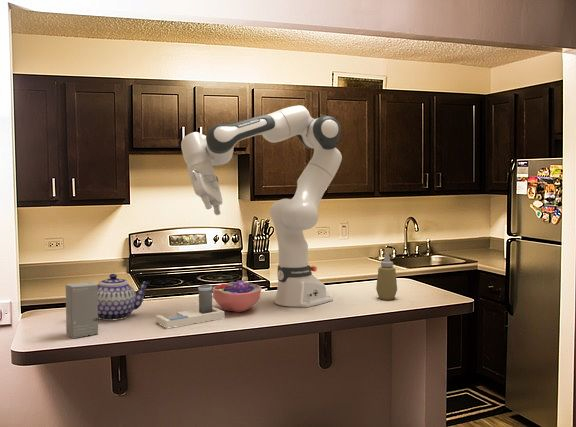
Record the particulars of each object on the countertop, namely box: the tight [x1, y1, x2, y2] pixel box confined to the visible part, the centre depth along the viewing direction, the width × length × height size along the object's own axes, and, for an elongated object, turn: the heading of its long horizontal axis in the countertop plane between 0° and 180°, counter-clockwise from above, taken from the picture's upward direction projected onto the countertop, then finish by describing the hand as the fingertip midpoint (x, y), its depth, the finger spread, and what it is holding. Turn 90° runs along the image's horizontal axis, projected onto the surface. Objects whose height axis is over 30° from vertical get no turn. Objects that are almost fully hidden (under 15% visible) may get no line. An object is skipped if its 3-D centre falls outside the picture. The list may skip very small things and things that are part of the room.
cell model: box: [212, 279, 263, 313], centre depth 213 cm, size 17×20×11 cm
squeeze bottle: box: [375, 252, 398, 301], centre depth 230 cm, size 8×8×18 cm
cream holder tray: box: [155, 306, 226, 329], centre depth 199 cm, size 21×8×3 cm, turn 125°
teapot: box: [97, 273, 151, 321], centre depth 205 cm, size 25×15×15 cm, turn 110°
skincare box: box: [64, 282, 99, 339], centre depth 184 cm, size 8×7×16 cm
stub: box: [197, 284, 213, 314], centre depth 203 cm, size 5×5×11 cm
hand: (213, 211), depth 206 cm, fingers open, 8 cm apart
